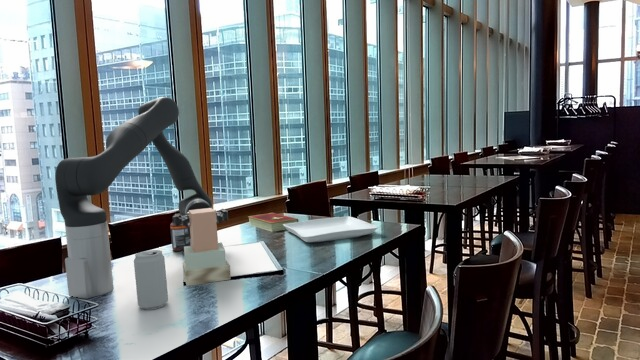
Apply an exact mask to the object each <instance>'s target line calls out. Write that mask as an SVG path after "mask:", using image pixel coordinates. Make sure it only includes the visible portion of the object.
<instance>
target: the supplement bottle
mask: <svg viewBox="0 0 640 360" xmlns="http://www.w3.org/2000/svg"><path fill="white" fill-rule="evenodd" d="M174 216H175V215H173V216H172V222H171V223H170V225H169V226H170V238H171V249H172V251H176V252H181V251H184V247H186V246H191V236H190V225H188V227H185V226H182V224H180V225H179V226H175V218H174ZM181 216H182V215H181Z"/></svg>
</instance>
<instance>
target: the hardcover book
mask: <svg viewBox="0 0 640 360" xmlns="http://www.w3.org/2000/svg"><path fill="white" fill-rule="evenodd" d="M247 218H248V220H249V221H248V222H249V226H252V227H255V228H258V229H261V230H265V231H267V232H271V233H273V232H280V231H286V230H287V229H286V228H285V227H284V226H283V224H288V223H294V222H300V219H298V218H296V217H291V216H287V215H284V214H279V213H275V212H269V213H263V214H256V215H249V216H247Z"/></svg>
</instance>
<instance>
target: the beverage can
mask: <svg viewBox="0 0 640 360" xmlns="http://www.w3.org/2000/svg"><path fill="white" fill-rule="evenodd" d="M133 267H134V269H133V270H134V277H135V286H136V296H137V297H136V298H137V306H138V307H139V308H141V309H143V310H157V309H160V308H162V307H165V305H166V304H167V303H168V302H169V294H168V293H169V292H168V283H167V282H168V281H167V272H166V259H165V255H164V254H163V251H162V250H159V249H151V250H144V251H140V252H138V253H137V252H136V253H135V254H134V260H133Z"/></svg>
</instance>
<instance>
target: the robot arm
mask: <svg viewBox="0 0 640 360" xmlns="http://www.w3.org/2000/svg"><path fill="white" fill-rule="evenodd" d="M179 109H180V108H179V105H178V104H177V103H176V101H175V100H174V99H173V98H170V97H167V96H159V97H156V98H153V99H151V100H150V101H147V102H144V103H143V104H141V105H139V107H138V111H137V113H138V115H136V116H134V117H132V118H131V117H130V119H127V120H126V121H124V122H123V123H121V124H120V125H118V126H117V127H116V128H114V129H113V130H112V131H110V132H109V134H108V135H107V137H106V140H105V150H103V151H102V152H101V153H99V154H97V155H94V156H88V157H87V156H86V157H85V156H84V157H69V158H68V157H67V158H64V159H62V160H61V161H59V163H58V164H57V165H56V168H55V173H54V174H55V180H54V181H55V187H56V194H57V199H58V207H59V211H60V212H59V213H60V214H61V217H62V219H63V220H64V221H63V222H64V227H65V235H66V236H65V238H66V246H67V247H66V248H67V256H68V257H66V258H65V259H64V263H65V274H66V281H67V290H68V291H67V293H68V297H69V296H73V297H72V298H76V297H78V299H91V298H95V297H99V296H103V295H106V294H108V293H111V292H112V291H113V290H114V288H115V287H114V279H113V277H114V276H113V268H112V259H111V249H110V239H109V237H110V236H109V227H108V217H107V212H106V210H105V209H104V208H101V207H100V206H97V205H94V204H93V203H92V202H91V201H89V198H88V197H89V196H97V195H100V194H102V193H104V192H105V191H106V190H108V188H110V186H111V185H112V184H113V182H114V181H115V180H116V178H117V177H118V176H119V175H120V173H121V172H122V171H123V170H124V169H125V168H126V167H127V166H128V165H129V164H130V163H131V162H132V161H133V160H134V159H135V158H137V156H139V155H140V154H141V153H142V152H143V151H144V150H145V149H146V148H147V147H148V146H149V145H150V144H151V143H152V144H153V146H154V147H155V148H156V150H157V151H158V154H159V155H160V156H161V158H162V161H164V163H165V166H166V168H167V170H168V172H169V175H170V178H171V179H172V183H173V185H174V187H175V188H176V190H177V191H178V192H183V191H184V192H185V191H189V190H190V191H194V192H195V193H193V194H191V195H189V196H187V197H184V198H182V199H181V200H180V201H179V202H178V211H179V213H175V214H174V215H173V216H174V218H175V226H179V225H180V224H182V226H185V227H188V225H189V226H190V223H189V211H188V210H196V209H205V208H212V207H213V202H212V199H211V197H210V196H209V195H208V193H206V191H205V190H204V189H203V187H202V185H200V183H199V181H198V178H197V177H196V175H195V172H194V170H193V167H192V165H191V162H190V161H189V159H188V158H187V157H186V156H185V155H184V154H183V153H182V152H181V151H180V150H178V149H177V148H176V147H175V146H174V145H172V143H171V142H170V141H169V140H168V139H167V137H166V136H165V133H164V130H166V129H168V128H169V127H171V126H172V125H175V123H177V122H178V119H179V115H180V111H179ZM212 209H213V208H212ZM214 210H215V211H216V223H217V224H222V222H224V221H225V222H227V221H229V212H228V210H226V209H225V208H221V209H219V211H217V210H216V209H214ZM181 215H182V216H181Z"/></svg>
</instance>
